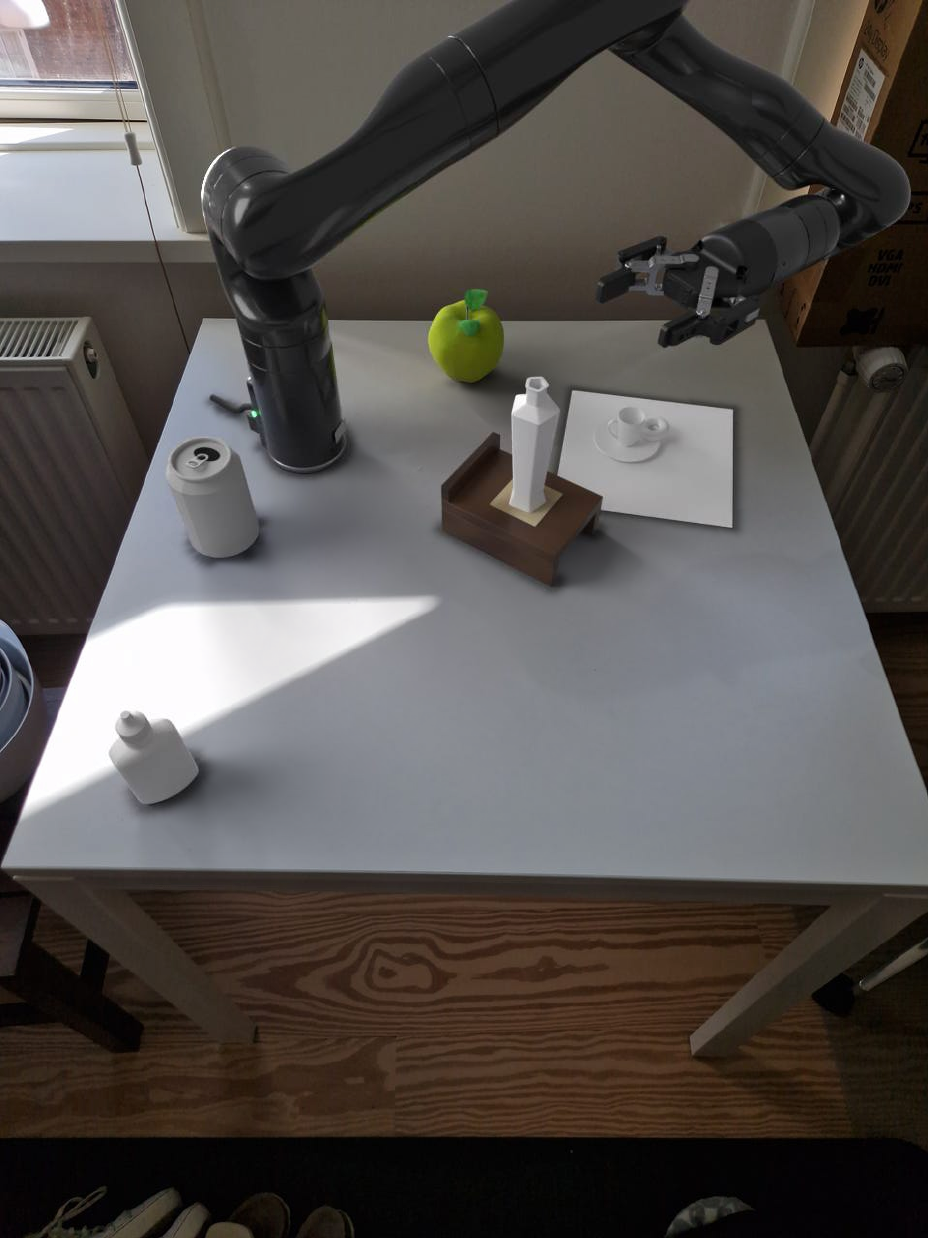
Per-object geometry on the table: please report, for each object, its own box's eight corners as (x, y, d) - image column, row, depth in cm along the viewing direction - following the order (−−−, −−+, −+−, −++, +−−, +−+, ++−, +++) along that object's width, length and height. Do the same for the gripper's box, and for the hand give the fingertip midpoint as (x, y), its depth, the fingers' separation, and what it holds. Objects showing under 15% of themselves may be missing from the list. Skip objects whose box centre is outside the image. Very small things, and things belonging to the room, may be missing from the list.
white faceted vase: (546, 517, 88) (559, 403, 76) (504, 511, 89) (510, 396, 77) (552, 486, 91) (566, 371, 79) (511, 480, 91) (519, 365, 79)
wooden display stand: (441, 530, 94) (440, 485, 88) (491, 477, 99) (493, 431, 93) (551, 587, 89) (557, 543, 84) (597, 528, 94) (606, 482, 89)
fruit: (508, 356, 112) (512, 287, 104) (492, 402, 107) (495, 333, 99) (441, 346, 113) (439, 277, 105) (422, 390, 108) (418, 321, 100)
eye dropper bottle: (138, 762, 77) (91, 694, 68) (201, 756, 78) (163, 687, 68) (133, 807, 75) (84, 743, 65) (198, 800, 75) (158, 735, 66)
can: (274, 524, 95) (252, 442, 85) (236, 572, 91) (209, 492, 81) (217, 503, 96) (190, 421, 87) (178, 549, 92) (144, 468, 83)
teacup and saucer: (668, 424, 104) (674, 397, 101) (664, 469, 100) (671, 443, 96) (596, 415, 105) (600, 388, 102) (589, 459, 100) (594, 433, 97)
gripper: (706, 190, 85) (583, 242, 80) (818, 254, 79) (693, 316, 73) (689, 260, 91) (574, 313, 86) (792, 325, 85) (675, 387, 79)
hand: (629, 314), depth 79 cm, fingers open, 8 cm apart
